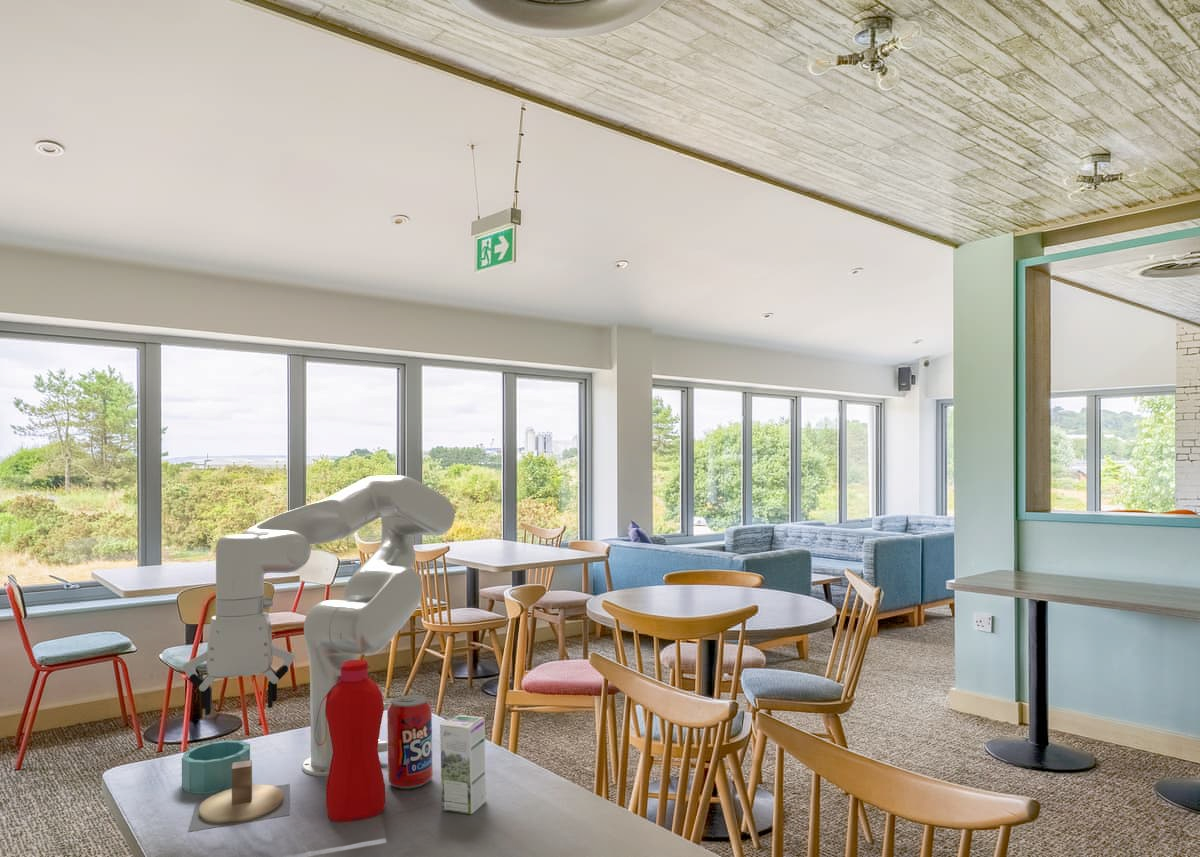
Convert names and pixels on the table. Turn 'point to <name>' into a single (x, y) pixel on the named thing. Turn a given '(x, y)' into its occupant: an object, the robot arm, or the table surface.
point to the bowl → (212, 765)
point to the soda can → (409, 741)
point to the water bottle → (354, 745)
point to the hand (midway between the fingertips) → (239, 709)
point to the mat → (279, 812)
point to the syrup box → (463, 764)
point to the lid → (241, 798)
